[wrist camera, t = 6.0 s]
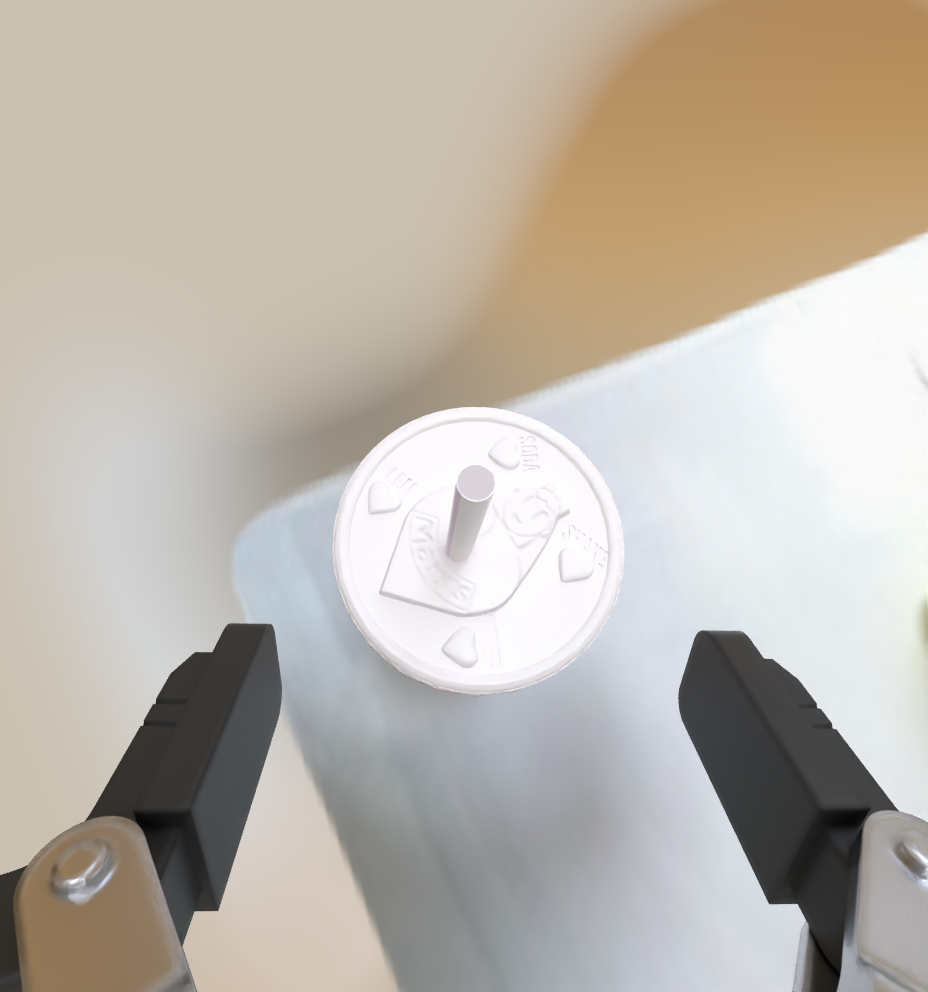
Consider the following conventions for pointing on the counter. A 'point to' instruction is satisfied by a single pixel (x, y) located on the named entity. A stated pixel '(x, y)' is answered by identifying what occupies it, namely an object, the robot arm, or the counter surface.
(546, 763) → the counter surface
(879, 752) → the counter surface
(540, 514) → the smoothie
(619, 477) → the counter surface
